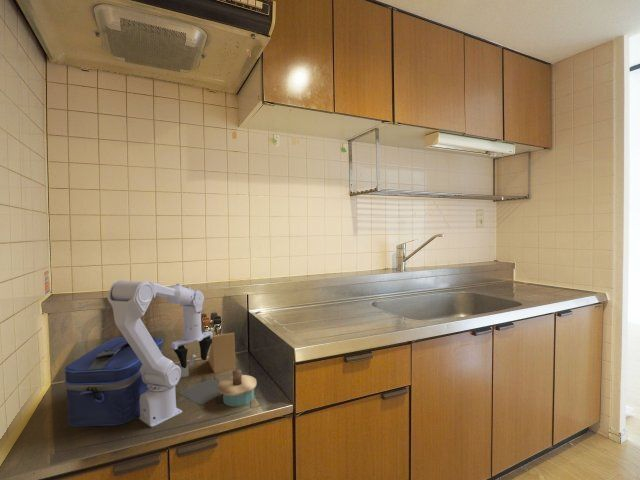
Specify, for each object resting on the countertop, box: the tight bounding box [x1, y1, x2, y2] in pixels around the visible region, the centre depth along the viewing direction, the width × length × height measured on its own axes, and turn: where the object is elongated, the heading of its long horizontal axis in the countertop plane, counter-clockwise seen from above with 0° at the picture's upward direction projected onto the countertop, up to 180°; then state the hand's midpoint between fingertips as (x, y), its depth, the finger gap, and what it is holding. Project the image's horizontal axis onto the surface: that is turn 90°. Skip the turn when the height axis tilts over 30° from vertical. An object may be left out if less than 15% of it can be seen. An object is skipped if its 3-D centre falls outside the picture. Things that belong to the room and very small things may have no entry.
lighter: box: [178, 353, 197, 379], centre depth 129 cm, size 7×2×8 cm, turn 114°
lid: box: [218, 369, 257, 395], centre depth 111 cm, size 12×12×5 cm
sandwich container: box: [207, 332, 236, 374], centre depth 139 cm, size 9×15×15 cm, turn 27°
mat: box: [178, 378, 223, 406], centre depth 116 cm, size 13×13×1 cm
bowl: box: [222, 388, 255, 407], centre depth 111 cm, size 10×10×4 cm
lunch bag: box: [64, 336, 164, 428], centre depth 109 cm, size 31×21×20 cm
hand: (194, 363), depth 116 cm, fingers open, 7 cm apart
